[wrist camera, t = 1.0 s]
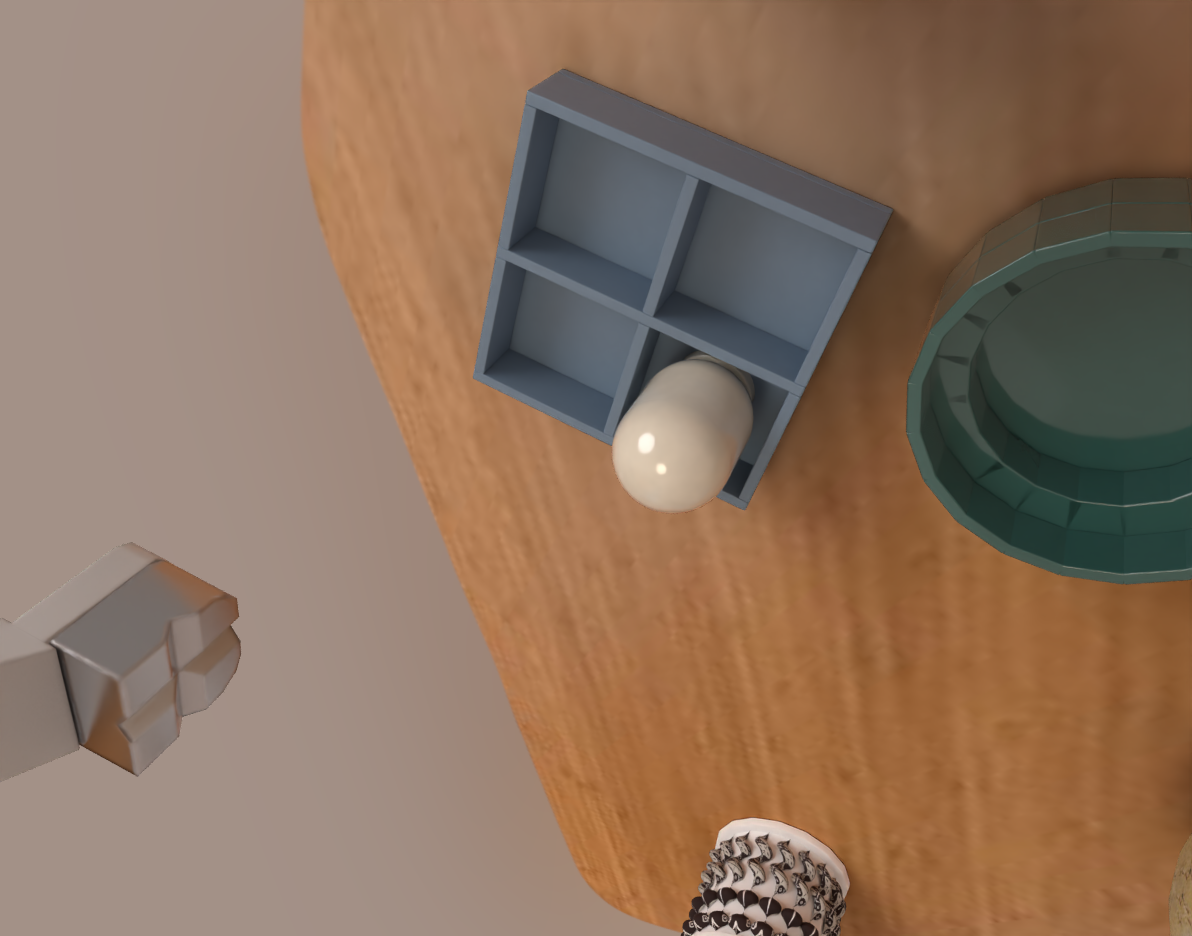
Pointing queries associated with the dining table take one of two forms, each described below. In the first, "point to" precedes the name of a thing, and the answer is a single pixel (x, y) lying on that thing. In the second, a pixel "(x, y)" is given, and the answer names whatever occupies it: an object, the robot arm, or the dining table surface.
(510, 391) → the divided tray
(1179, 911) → the fossilized egg
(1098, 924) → the dining table surface
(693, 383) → the cream capsule
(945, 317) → the bowl
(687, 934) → the decorative candle
